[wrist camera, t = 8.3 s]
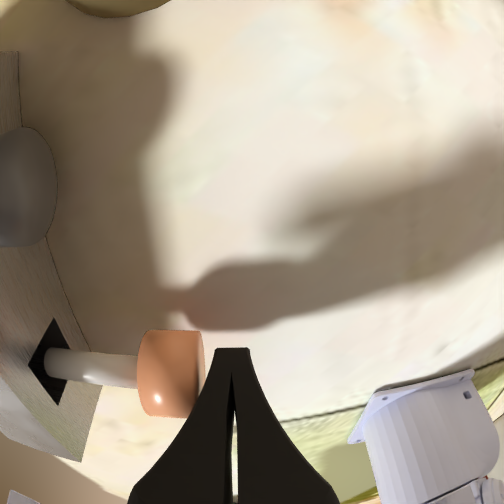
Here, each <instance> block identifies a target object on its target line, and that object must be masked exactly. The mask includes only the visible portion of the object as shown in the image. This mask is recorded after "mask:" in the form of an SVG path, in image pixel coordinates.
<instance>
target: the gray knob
mask: <svg viewBox="0 0 504 504" xmlns="http://www.w3.org/2000/svg"><path fill="white" fill-rule="evenodd" d="M56 201H57V174H56V168H55V163H54V159H53V156H52V153H51V150H50V148H49V146H48V144H47V142H46V141H45V139H44V138H43V137H42V135H41V134H40V133H38V132H37V131H36V130H34V129H32V128H28V127H21V128H17V129H14V130H10V131H7V132H4V133H1V134H0V248H7V247H26V246H32V245H34V244H36V243H38V242H39V241H40V240H41V239H42V238H43V237H44V236H45V234H46V232H47V231H48V229H49V227H50V225H51V222H52V220H53V216H54V212H55V208H56Z"/></svg>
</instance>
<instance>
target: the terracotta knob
mask: <svg viewBox="0 0 504 504" xmlns="http://www.w3.org/2000/svg"><path fill="white" fill-rule="evenodd" d="M44 367H45V370H46V373H47V374H48V375H49V376H50V377H55V378H60V379H66V380H72V381H78V382H84V383H91V384H98V385H106V386H115V387H124V388H134V389H138V392H139V397H140V401H141V404H142V407H143V409H144V411H145V413H146V414H147V415H149V416H156V417H169V418H188V416H189V415H190V413H191V411H192V409H193V407H194V405H195V403H196V401H197V399H198V397H199V395H200V393H201V390H202V388H203V386H204V383H205V358H204V347H203V341H202V336H201V333H200V331H184V330H148V331H147V332H146V333H145V334H144V336H143V338H142V341H141V344H140V348H139V353H138V356H134V355H120V354H107V353H97V352H87V351H78V350H70V349H62V348H54V347H50V348H49V349H48V350H47V351H46V353H45V356H44Z"/></svg>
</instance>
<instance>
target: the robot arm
mask: <svg viewBox="0 0 504 504" xmlns="http://www.w3.org/2000/svg"><path fill="white" fill-rule="evenodd" d="M474 374H475V371H474V369H469V370H465V371H462V372H459V373H455V374H452V375H448V376H445V377H441V378H437V379H433V380H429V381H425V382H421V383H417V384H413V385H408V386H404V387H399V388H394V389H389V390H384V391H379V392H376V393H374V394H373V395H372V396H371V398H370V400H369V402H368V404H367V406H366V407H365V409H364V411H363V413H362V415H361V417H360V418H359V420H358V422H357V424H356V425H355V427H354V429H353V430H352V432H351V434H350V436H349V437H348V439H347V442H348V444H354V443H359V442H364V441H365V442H366V446H367V450H368V454H369V457H370V461H371V465H372V469H373V473H374V477H375V481H376V485H377V489H378V493H379V497H380V502H381V504H504V483H503V482H502V481H501V480H498V479H494V478H489V479H487V480H486V478H483V477H485V476H486V475H487V474H489V473H490V472H491V470H492V469H493V468H494V466H495V465H496V463H497V461H498V458H499V452H500V441H499V436H498V432H497V430H496V428H495V425H494V423H493V421H492V419H491V417H490V415H489V413H488V411H487V409H486V407H485V405H484V403H483V401H482V399H481V397H480V395H479V393H478V392H477V390H476V388H475V386H474V384H473V382H472V380H471V378H472V377H473V376H474ZM234 411H235V416H236V424H237V454H238V504H340V503H339V500H338V498H337V496H336V494H335V492H334V490H333V489H332V487H331V485H330V484H329V483H328V482H327V481H326V480H325V479H324V478H323V477H322V476H321V475H320V474H319V473H318V472H317V471H316V470H315V469H314V468H313V467H312V466H311V465H310V463H309V462H308V461H307V460H306V459H305V458H304V456H303V455H302V454H301V453H300V451H299V450H298V449H297V448H296V446H295V445H294V444H293V442H292V441H291V440H290V438H289V437H288V435H287V434H286V432H285V431H284V429H283V428H282V426H281V425H280V423H279V421H278V420H277V418H276V416H275V415H274V413H273V411H272V409H271V407H270V405H269V403H268V401H267V399H266V397H265V395H264V393H263V391H262V388H261V386H260V384H259V381H258V379H257V376H256V373H255V370H254V367H253V364H252V360H251V356H250V349H248V348H247V347H246V348H217V349H215V352H214V357H213V360H212V364H211V367H210V370H209V373H208V376H207V378H206V381H205V383H204V386H203V388H202V390H201V393H200V395H199V397H198V399H197V401H196V403H195V405H194V407H193V409H192V411H191V413H190V415H189V416H188V418H187V420H186V422H185V423H184V425H183V426H182V428H181V430H180V431H179V433H178V434H177V436H176V437H175V439H174V440H173V442H172V443H171V444H170V446H169V447H168V448H167V450H166V451H165V452H164V454H163V455H162V456H161V457H160V458H159V460H158V461H157V462H156V463H155V464H154V466H153V467H152V468H151V469H150V470H149V471H148V472H147V473H146V474H145V475H144V476H143V477H142V478H141V479H140V480H139V481H138V482H137V483H136V484H135V485H134V487H133V489H132V491H131V493H130V496H129V499H128V503H127V504H233V492H232V460H231V452H232V436H233V424H234ZM7 504H40V503H38V502H36V501H35V500H33V499H31V498H29V497H26V496H24V495H22V494H20V493H18V492H15V491H14V490H10V493H9V497H8V501H7Z"/></svg>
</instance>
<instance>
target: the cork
mask: <svg viewBox="0 0 504 504" xmlns="http://www.w3.org/2000/svg"><path fill="white" fill-rule="evenodd" d="M66 1H67V2H69V3H70V4H72V5H73V6H74V7H76V8H77V9H79V10H80V11H82V12H83V13H85V14H88V15H93V16H98V17H102V18H113V17H127V16H133V15H136V14H139V13H142V12H145V11H148V10H152V9H155V8H158V7H159V6H161V5H163V4H165V3H166V2H168V1H170V0H66Z"/></svg>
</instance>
